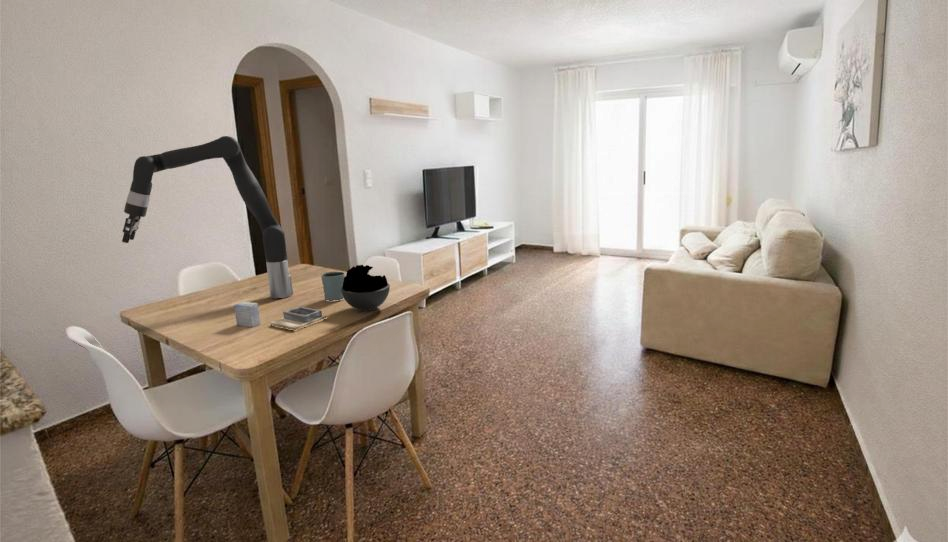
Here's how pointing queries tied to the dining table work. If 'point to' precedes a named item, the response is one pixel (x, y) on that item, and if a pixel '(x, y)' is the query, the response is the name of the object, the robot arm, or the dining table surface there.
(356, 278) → the coal bowl
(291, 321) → the jig
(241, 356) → the dining table surface
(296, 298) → the dining table surface
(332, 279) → the teal cup
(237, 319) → the medicine box
